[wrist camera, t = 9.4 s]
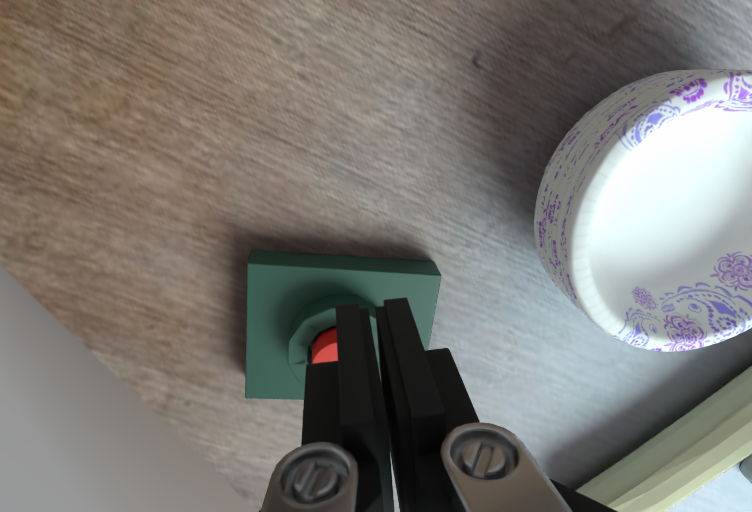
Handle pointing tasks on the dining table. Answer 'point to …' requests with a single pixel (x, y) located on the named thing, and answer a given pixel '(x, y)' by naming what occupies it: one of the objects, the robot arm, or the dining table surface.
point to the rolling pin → (681, 454)
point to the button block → (320, 309)
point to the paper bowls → (656, 211)
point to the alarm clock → (747, 468)
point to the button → (325, 347)
